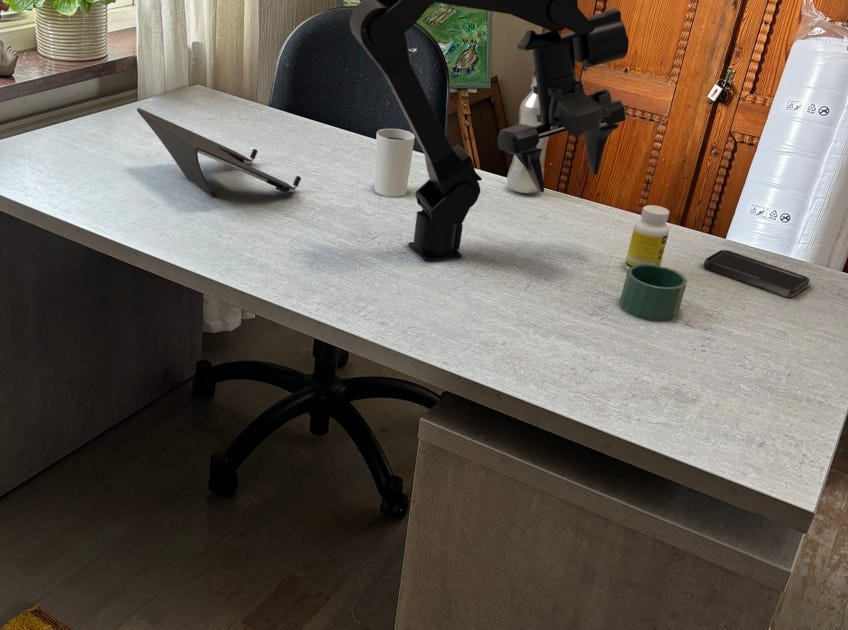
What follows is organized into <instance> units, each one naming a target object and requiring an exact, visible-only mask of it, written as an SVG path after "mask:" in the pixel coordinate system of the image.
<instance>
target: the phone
mask: <svg viewBox="0 0 848 630" xmlns="http://www.w3.org/2000/svg"><path fill="white" fill-rule="evenodd" d="M703 263H704V264H703V268H704V269H707V270H709V271H712V272H714V273H718V274H720V275H723V276H725V277H729V278H732V279H734V280H738V281H740V282H743V283H745V284H748V285H751V286H754V287H756V288H759V289H762V290H765V291H769V292H771V293H774V294H777V295H779V296H783V297H786V298H794V297H796V296H797V295H799V294H800V293H801V292H803V291H804V290H805V289H807V288H808V286H809V283H810V280H811V279H810V278H809V277H807V276H805V275H801V274H799V273H796V272H794V271H790V270H787V269H784V268H781V267H779V266H777V265H776V266H775V265H774V264H770V263H767V262H764V261H761V260H758V259H755V258H752V257H749V256H746V255H743V254H739V253H737V252H734V251H731V250H727V249H720V250H718V251H717V252H715V253H713V254H712V255H709V256H708V257H706V258H705V259H704V262H703Z"/></svg>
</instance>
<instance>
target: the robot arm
mask: <svg viewBox="0 0 848 630" xmlns="http://www.w3.org/2000/svg"><path fill="white" fill-rule="evenodd" d="M435 3H437V4H443V5H447V6H449V5H450V6H456V7H461V8H468V9H474V10H481V11H486V12H487V11H488V12H493V13H499V14H506V15H510V16H513V17H516V18H518V19H520V20H523V21H525V22H528V23H530V24H533V25H535V26H538V27H540V28H542V29H546V31H543V32H539V33H537V32H536V31H535V30H533V29H532V30H531V29H526V31H525V33H524V35H523V37H522V38H521V39H520V41H519V42H518V43H517V44H516V47H517V49H518V50H522V51H531V50H532V57H533V64H534V65H533V66H534V73H535V76H536V82H537V86H533V91H534V94H538V99H539V107H540V114H539V115H537V122H540V123H542V125H538V126H535V127H534V126H529V125H524V124H519V123H518V124H516V125H512V126H509V127H505V128H502V129H500V130H499V133H498V136H497V145H498V150H500V151H504V152H507V153H508V154H511V155H513V156H514V155H516V156H517V158H518V159H519V160H520V162H521V163H522V164H523V166H524V167H525V169H526V171H527V172H528V174H529V176H530V177H531V179H532V181H533V182H534V184H535V186H536V188H537V189H538V191H537V192H539V193H544V192H545V182H544V180H543V175H542V169H541V163H540V155H541V152H542V149H541V148H537V147H536V146H537V144H538V143H539V139H541V138H544V137H547V136H549V137H550V136H551V137H552V136H554V135H557V134H560V133H564V132H567V133H568V134H569V135H570V136H572V137H579V136H583V135H584V142H585V149H586V155H587V160H588V161H587V162H588V167H589V170H590V173H591V175H592V176H598V174H599V170H600V165H601V161H602V157H603V153H604V149H605V146H606V143H607V141H608V138H609V137H610V135H611V134H612V133H613V132H614V131H615V130H617V129H619V127H620V124H619V123H622V122H625V121H627V108H626V106H625V104H624V103H623V102H622V101H621V100H617V99H612V94H611V92H610V91H609V90H608V89H606V88H604V89H601V90H597V91H595V92H594V93H591V94H590V93H589V94H586V93H585V90H584V83H583V81H582V79H578V78H577V67H576V63H580V64H581V65H582V66H583V68H585V69H589V68H593V67H596V66H600V65H603V64H607V63H611V62H615V61H619V60H623V59H625V58H626V57H627V54H628V52H629V47H630V46H629V45H630V41H629V36H627V35H628V34H627V30H626V27H625V24H624V22H623V20H622V11H620V10H618V9H616V8H610V9H607V10H605V11H603V12H601V13H597V14H593V15H589V16H586V15H585V14H584V13H583V12H582V11H581V9H580V7H579V6H578V5H579V2H578V0H362V1H360V2H359V3H358V4H357V5H355V7H354V8H353V10H352V11H351V15H350V18H349V28H350V31H351V34H352V35H353V37H354V38H355V40H357V42H358V43H359V44H360V46H361V47H362V48H363V50H364V51H365V52H366V54H367V55H368V56H369V57H370V58H371V60H372V61H373V62H374V64H375V65H376V66H377V67H378V68H379V70H380V71H381V73H382V74H383V76H384V78H385V79H386V82H387V84H388V85H389V87H390V90H391V91H392V93H393V96H394V98H395V100H396V101H397V103H398V105H399V107H400V109H401V111H402V113H403V115H404V117H405V119H406V121H407V123H408V125H409V127H410V128H411V130H412V134H414V136H415V139H416V141H417V143H418V145H419V147H420V148H421V150H422V152H423V155H424V158H425V165H426V171H427V174H428V175H427V176H428V178H429V179H428V180H426V182H424V183H423V184H422V186H420V187H419V188H418V189H416V191H415V192H414V195H415V199H416V203H417V205H418V206H420V208H421V210H419V211H416V218H415V227H414V235H413V241H410V242H408V244H407V246H408V247H409V248H410V249H411V250H412V251H413V252H415V253H416V254H417V255H418V256H419V257H420V258H422V260H424V261H425V262H431V261H432V262H433V261H441V260H451V259H458V258H459V259H460V258H462V257H463V256H462V255H463V254H462V253H461V251H459V250H460V248H461V241H462V236H463V235H462V234H463V227H464V225H463V223H464V221H465V219H466V217H467V215H468V213H469V212H470V209H471V208H472V207H473V206H474V205H475V204H476V203H477V201H478V200H479V196H480V195H481V186H480V182H479V181H482V180H483V178H482V177H481V176H480V175H479V174H478V173H477V171H476V169H475V166H474V162H473V159H472V157H471V156H470V155H469V154H468V153H467V152H466V150H465V149H464V148H462V146H460V145H459V143H458V144H456V145H454V147H452V146H451V144H450V142H449V139H448V138H447V135H446V133H445V131H444V129H443V127H442V125H441V123H440V121H439V119H438V117H437V115H436V113H435V111H434V108H433V106H432V104H431V103H430V101H429V98H428V96H427V95H426V93H425V90H424V88H423V86H422V85H421V82H420V80H419V78H418V76H417V74H416V72H415V70H414V68H413V66H412V63H411V58H410V51H409V46H408V45H409V44H408V41H407V38H406V37H407V36H406V34H405V33H407V31H409V30H410V29H411V28H412V27H414V26H415V25H416V23H417V22H418V21H419V19H421V17H422V16H423V15H424V14H425V12H427V11H428V9H429V8H430V7H431V6H433V5H434V4H435ZM564 30H569V31H570V32H566V33H563V34H562V33H561V34H560V32H561V31H564ZM551 127H552V129H551Z"/></svg>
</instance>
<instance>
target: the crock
mask: <svg viewBox="0 0 848 630" xmlns="http://www.w3.org/2000/svg"><path fill="white" fill-rule="evenodd" d="M687 284H688V279H687V278H686V277H685V276H684V274H682V273H681V272H679V271H677V270H674V269H672V268H669V267H666V266H661V265H660V266H658V265H648V264H641V265H634V266H632V267H630V268H629V269H628V270H627V272H626V276H625V279H624V283H623V287H622V292H621V295H620V299H619V306H620V308H621V309H622V310H623V311H624V312H626V313H627V314H629V315H632V316H634V317H636V318H639V319H642V320H647V321H654V322H667V321H671V320H674V319H675V318H677V317H678V315H679V313H680V312H679V311H680V308H681V305H682V301H683V298H684V294H685V291H686V288H687Z"/></svg>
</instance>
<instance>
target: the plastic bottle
mask: <svg viewBox="0 0 848 630" xmlns="http://www.w3.org/2000/svg"><path fill="white" fill-rule="evenodd" d="M533 86H537V82H536V75H533V76H532V80H531V84H530V90H531V91H530V92H529V93H528V94H527V96H525V98H524V99H523V100H522V102H521V104H520V105H519V109H518V125H519V124H524V125H529V126H534V127H535V126H538V125H542V123H540V122H537V115H539V114H540V107H539V99H538V94H534V91H533ZM551 129H552V127H551ZM549 138H550V136H547V137H544V138H541V139H539V143H538V144H537V146H536V147H537V148H541V149H542V152H541V155H540V163H541V169H542V175H543V181H544V180H545V161H546V153H547V152H546V151H547V146H548V143H549ZM506 183H507V186H508V188H509V189H511V191H514V192H517V193H524V194H534V193H537V192H539V191H538V189H537V188H536V186H535V184H534V182H533V181H532V179H531V177H530V176H529V174H528V172H527V171H526V169H525V167H524V166H523V164H522V163H521V162H520V160H519V159H518V158H517V156H516V155H514V154H513V157H512V159H511V163H510V166H509V169H508V172H507V176H506Z"/></svg>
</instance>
